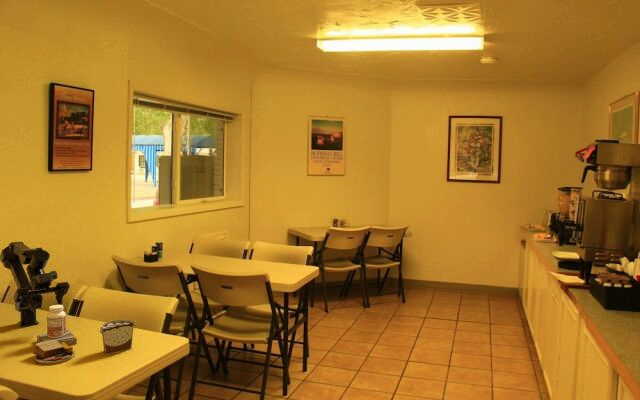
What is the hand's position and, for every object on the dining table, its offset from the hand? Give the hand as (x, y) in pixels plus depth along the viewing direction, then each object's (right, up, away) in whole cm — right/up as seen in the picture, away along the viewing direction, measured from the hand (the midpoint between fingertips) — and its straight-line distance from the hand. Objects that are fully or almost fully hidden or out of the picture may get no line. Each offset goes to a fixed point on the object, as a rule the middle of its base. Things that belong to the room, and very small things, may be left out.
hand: (48, 310), depth 199 cm
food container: (+29, -12, -10) cm, 33 cm away
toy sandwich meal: (+11, -13, -19) cm, 25 cm away
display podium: (+6, -11, -5) cm, 13 cm away
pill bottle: (+6, -9, -5) cm, 11 cm away
